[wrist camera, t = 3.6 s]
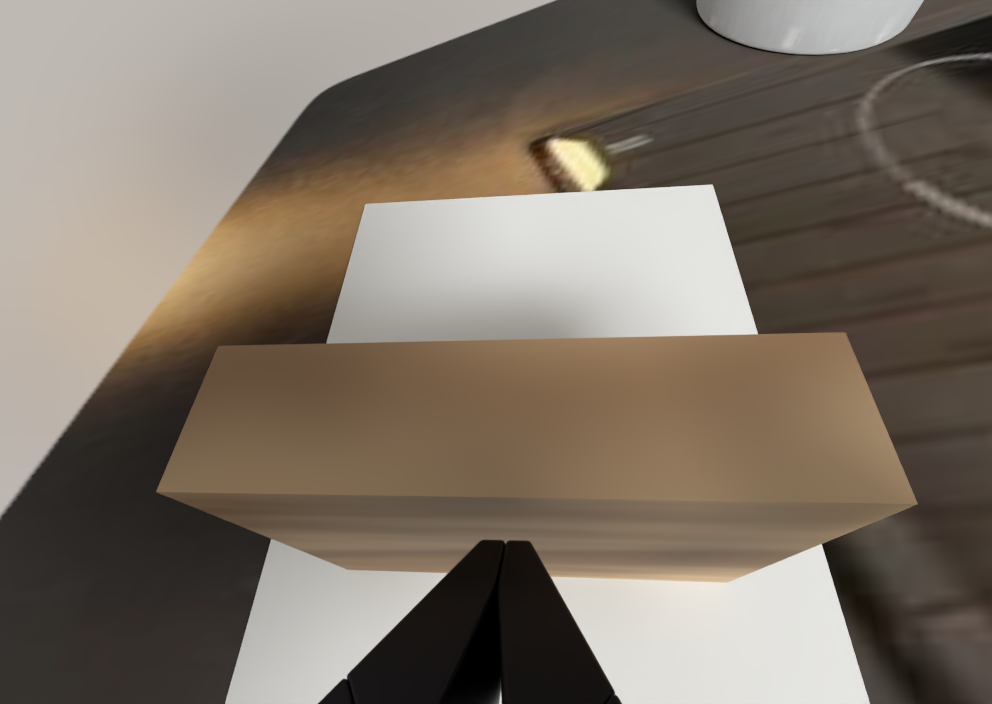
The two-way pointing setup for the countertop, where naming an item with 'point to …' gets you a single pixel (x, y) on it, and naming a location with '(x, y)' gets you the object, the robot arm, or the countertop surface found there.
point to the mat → (556, 315)
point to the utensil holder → (808, 23)
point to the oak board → (544, 451)
